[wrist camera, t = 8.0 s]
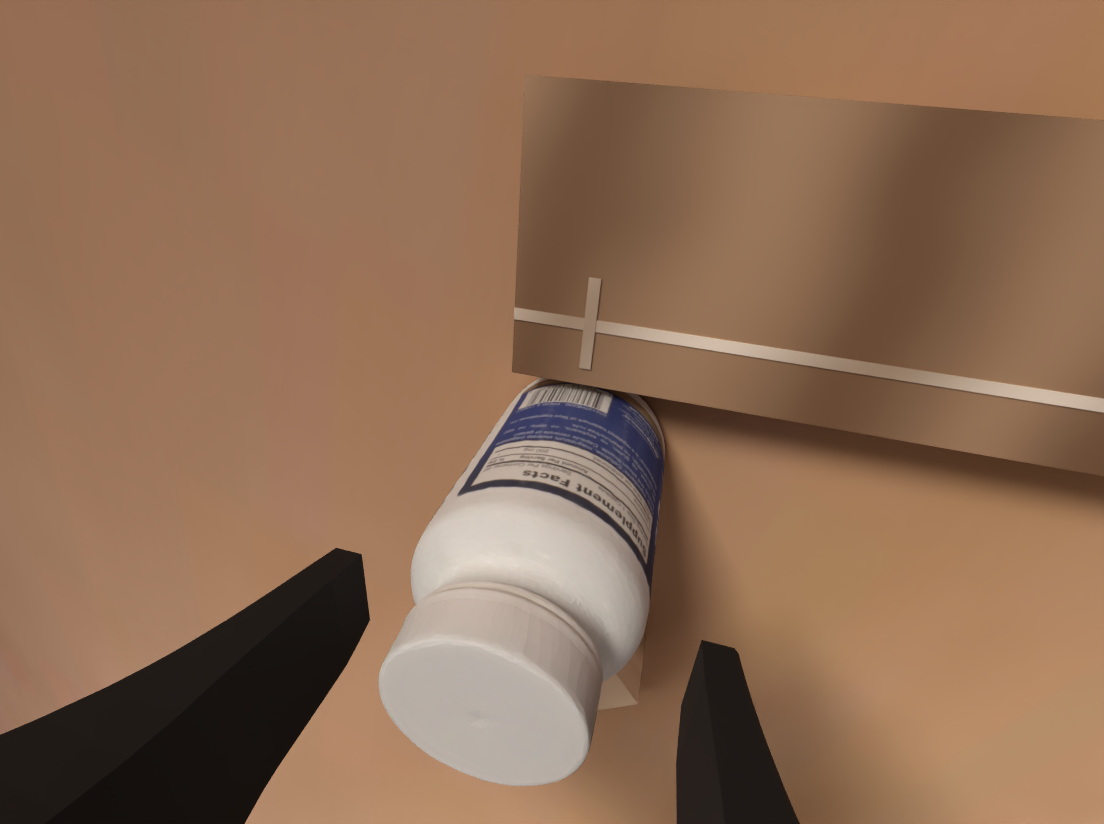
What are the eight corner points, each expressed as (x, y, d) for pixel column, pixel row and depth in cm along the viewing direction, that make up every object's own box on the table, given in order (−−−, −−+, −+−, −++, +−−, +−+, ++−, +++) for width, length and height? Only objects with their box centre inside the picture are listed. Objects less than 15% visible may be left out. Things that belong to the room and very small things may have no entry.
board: (1474, 154, 10) (1634, 162, 9) (1224, 461, 14) (1301, 512, 12) (548, 79, 13) (524, 74, 12) (531, 346, 17) (511, 373, 15)
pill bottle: (591, 533, 20) (508, 837, 11) (475, 437, 19) (296, 688, 11) (704, 445, 17) (703, 760, 9) (574, 330, 16) (439, 554, 8)
